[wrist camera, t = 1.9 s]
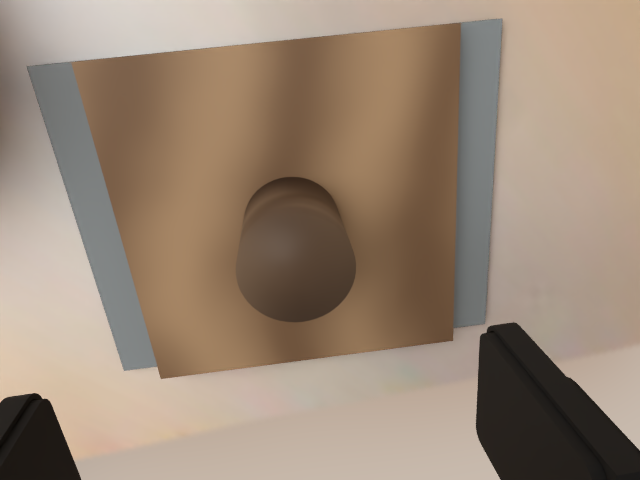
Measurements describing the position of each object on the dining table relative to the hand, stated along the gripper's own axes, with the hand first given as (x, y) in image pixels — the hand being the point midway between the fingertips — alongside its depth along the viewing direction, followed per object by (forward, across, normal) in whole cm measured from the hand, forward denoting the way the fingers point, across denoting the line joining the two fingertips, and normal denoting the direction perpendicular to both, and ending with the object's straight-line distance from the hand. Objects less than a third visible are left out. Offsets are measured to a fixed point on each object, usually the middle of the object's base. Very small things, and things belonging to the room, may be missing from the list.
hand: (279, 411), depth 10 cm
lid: (+11, -1, 0) cm, 11 cm away
